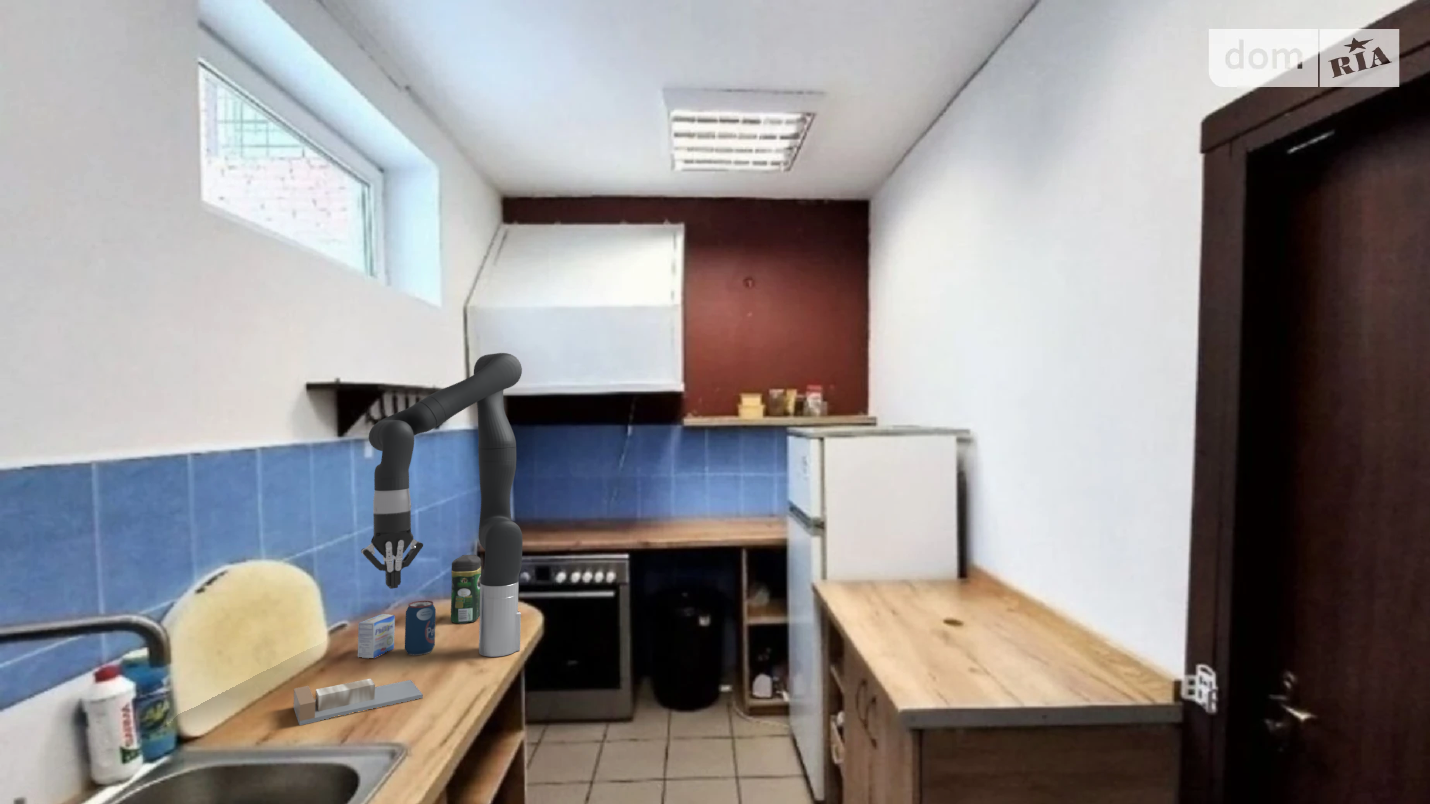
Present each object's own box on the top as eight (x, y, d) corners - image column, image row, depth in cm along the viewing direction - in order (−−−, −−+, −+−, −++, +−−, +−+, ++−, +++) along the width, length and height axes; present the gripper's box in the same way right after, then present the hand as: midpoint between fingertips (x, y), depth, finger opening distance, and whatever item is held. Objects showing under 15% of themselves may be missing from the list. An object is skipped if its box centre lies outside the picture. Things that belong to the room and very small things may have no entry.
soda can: (433, 654, 168) (435, 605, 168) (403, 657, 166) (404, 607, 166) (435, 646, 174) (436, 599, 175) (405, 648, 172) (407, 601, 173)
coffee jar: (454, 615, 203) (456, 553, 203) (482, 614, 204) (483, 552, 205) (447, 625, 193) (448, 559, 194) (476, 624, 194) (477, 558, 195)
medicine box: (372, 659, 164) (374, 623, 165) (356, 658, 165) (357, 622, 165) (394, 649, 172) (395, 614, 172) (379, 647, 173) (380, 613, 173)
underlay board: (410, 683, 149) (411, 665, 149) (422, 698, 141) (423, 679, 141) (293, 707, 136) (294, 688, 136) (299, 725, 128) (300, 704, 128)
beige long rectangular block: (370, 678, 142) (315, 689, 136) (374, 684, 139) (318, 695, 132) (370, 693, 142) (315, 704, 135) (374, 699, 138) (318, 711, 132)
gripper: (418, 505, 158) (419, 579, 158) (355, 511, 150) (356, 589, 150) (428, 508, 152) (429, 585, 152) (363, 514, 144) (364, 596, 144)
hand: (393, 587), depth 151 cm, fingers closed
